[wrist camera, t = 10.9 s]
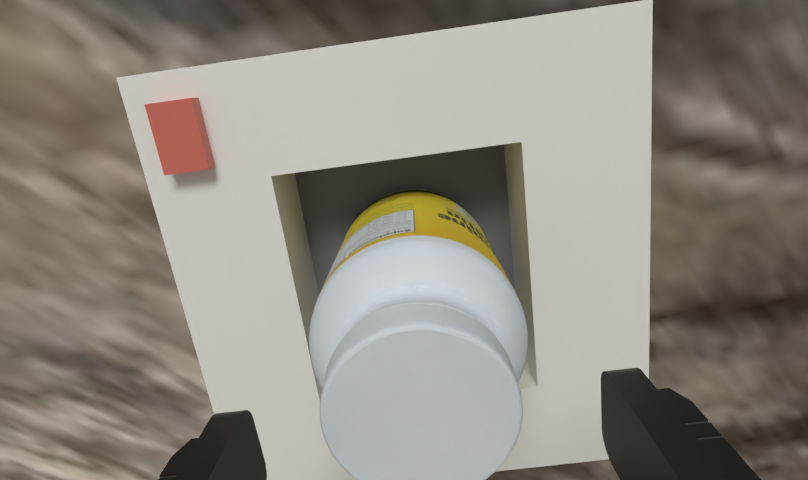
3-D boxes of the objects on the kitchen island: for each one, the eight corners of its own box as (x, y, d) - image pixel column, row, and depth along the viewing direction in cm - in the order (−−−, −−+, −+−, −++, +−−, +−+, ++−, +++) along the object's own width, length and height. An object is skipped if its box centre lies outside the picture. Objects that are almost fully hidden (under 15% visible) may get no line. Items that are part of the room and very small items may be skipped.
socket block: (600, 17, 20) (661, -5, 15) (607, 393, 26) (654, 465, 21) (175, 80, 21) (106, 77, 16) (266, 432, 26) (234, 510, 21)
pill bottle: (491, 312, 23) (571, 518, 12) (355, 329, 23) (309, 546, 12) (478, 175, 21) (559, 268, 10) (330, 195, 22) (250, 308, 10)
